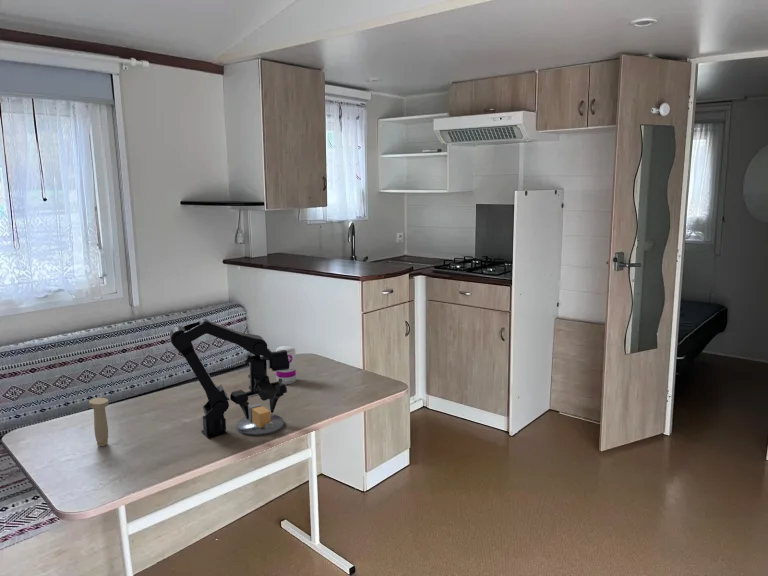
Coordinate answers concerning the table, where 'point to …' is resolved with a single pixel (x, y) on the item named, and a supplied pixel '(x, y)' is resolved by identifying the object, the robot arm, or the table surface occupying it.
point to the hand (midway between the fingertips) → (259, 415)
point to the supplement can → (289, 374)
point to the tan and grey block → (259, 415)
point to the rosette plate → (253, 430)
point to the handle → (100, 420)
